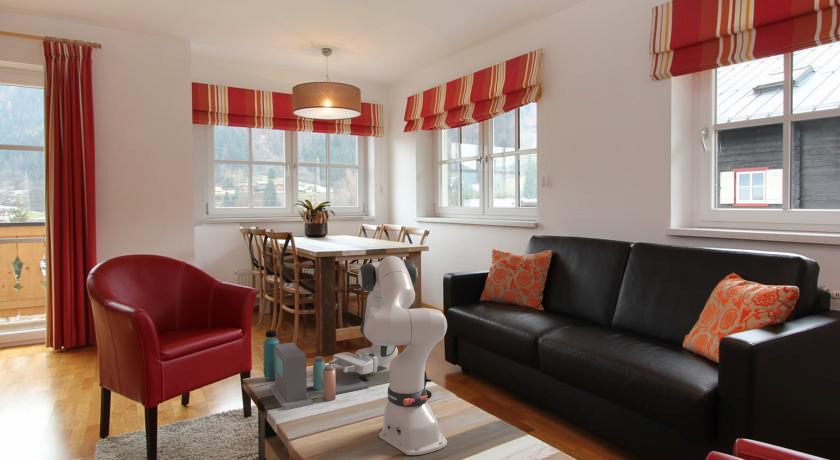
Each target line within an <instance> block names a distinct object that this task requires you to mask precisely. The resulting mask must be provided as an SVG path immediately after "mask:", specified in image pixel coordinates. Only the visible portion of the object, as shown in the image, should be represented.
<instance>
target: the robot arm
mask: <svg viewBox="0 0 840 460" xmlns="http://www.w3.org/2000/svg"><path fill="white" fill-rule="evenodd" d="M357 280H358V283H359V285H360V289H362V290H363V291H365V292H367V295H366V296H365V302H364V310H363V317H362V321H361V323H360V327H359V328H360V330H359V331H360V333H361V335H362V336H363V337H364V338H366V339H367V340H368V341H369V342H370V343H372V344H371V346H369V347H365V348H361V349H358V350H356V352H355V354H354V353H351V352H349V351H348V352H347V351H345V352H339V353H335V354H334V355H332V360H330V361H329V362H328V365H332V366H334V367H335V365H337V366H340V367H342V372H343V373H352V372H353V373H356V374H359V375H367V374H372V373H377V372H378V367H382V366H385V365H387V364H389V367H388V369H389V370H388V371H389V373H388V374H389V375H388V377H389V379H388V380H389V381H388V383H389V385H388V387H387V392H386V393H387V400H388V401H387V404H386V405H385V407H384V410H383V418H382V419H383V420H382V429H381V431H380V432H379V433H378V437H379V439H382V440H383V441H384V442H386V443H388V444H389V445H391V446H393V447H394V448H396V449H397V450H399V451H400V452H402V453H403V454H405V455H407V456H417V455H425V454H430V453H433V452H435V451H438V450H441V449H443V448H445V447H446V446H447V445H448V440H447V439H446V437H445V436H444V434H443V433H442V432H441V431H440V425H439V422H440V416H439V415H438V414H435V413H434V412H433V408H432V407H431V406H430V405H429V403H428V398H427V396H428V395H427V392H426V390H427V389H426V386H424V374H425V371H426V364H427V360H428V358H429V355H430V354H431V351H432V350H433V348H434V347H435V346H436V344H438V343H439V342H440V341H442V339H443V338H444V337H445V335H446V333H447V329H448V321H447V318H446V316H445V314H444V313H443V312H442V311H441V310H440V309H435V308H428V307H418V308H410V307H411V306H412V305H413V303H414V302H415V300H416V299H415V298H416V292H415V288H414V286H415V284H416V283H417V281H418V268H417V265H416V264H415V263H414V262H413V261H412V260H411V259H402V258H400V257H398V256H397V255H390V256H386V257H384V258H382V260H379V261H374V262H371V263H370V262H368V263H365V264H362V265H361V266H360V267H359V271H358V274H357ZM397 346H406V348H405V349H404V350H402V352H401V353H398V352H399V351H398V347H397Z"/></svg>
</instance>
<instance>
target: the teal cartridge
mask: <svg viewBox="0 0 840 460" xmlns="http://www.w3.org/2000/svg"><path fill="white" fill-rule="evenodd" d="M312 360H313V361H312V370H313V371H312V372H313V373H312V376H313V377H312V380H313V381H312V382H313V383H312V384H313V390H315V391H323V369H324V368H325V366H326V359H325V358H324V356H322V355H321V356H319V355H318V356H315V357H314V359H312Z"/></svg>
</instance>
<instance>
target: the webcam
mask: <svg viewBox="0 0 840 460" xmlns="http://www.w3.org/2000/svg"><path fill="white" fill-rule="evenodd" d="M431 382H432V379H429V378H427V372H426V370H425V374H424V386H425V387H426V385H427V383H431ZM426 392H427V395H428V396H427V398H429V399H430V398H431V397H432V395H433V394H432V391H430V390H427V389H426Z"/></svg>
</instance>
